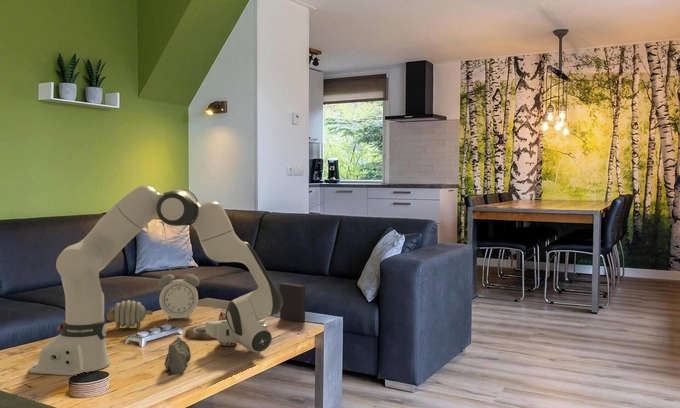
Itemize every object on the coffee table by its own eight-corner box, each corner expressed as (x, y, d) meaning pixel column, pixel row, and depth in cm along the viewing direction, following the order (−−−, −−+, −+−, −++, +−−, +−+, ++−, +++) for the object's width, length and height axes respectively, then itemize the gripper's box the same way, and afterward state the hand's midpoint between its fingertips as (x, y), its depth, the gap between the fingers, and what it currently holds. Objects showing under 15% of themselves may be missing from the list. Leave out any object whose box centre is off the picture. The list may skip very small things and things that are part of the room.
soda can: (232, 348, 204) (234, 314, 203) (214, 345, 206) (215, 312, 204) (241, 341, 211) (242, 309, 209) (223, 339, 212) (224, 307, 211)
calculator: (306, 320, 243) (306, 285, 242) (300, 323, 240) (300, 286, 239) (285, 317, 249) (285, 282, 248) (278, 319, 245) (279, 283, 245)
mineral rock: (183, 359, 191) (183, 328, 191) (208, 365, 186) (208, 334, 185) (152, 370, 180) (152, 338, 180) (177, 377, 175) (177, 343, 174)
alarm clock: (157, 322, 237) (157, 268, 236) (159, 317, 245) (159, 265, 244) (199, 320, 241) (199, 267, 240) (199, 315, 249) (199, 264, 248)
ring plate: (181, 340, 213) (181, 335, 212) (189, 328, 228) (189, 323, 228) (225, 339, 214) (225, 334, 214) (230, 328, 230) (230, 323, 230)
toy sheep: (106, 326, 229) (106, 298, 229) (152, 323, 235) (152, 296, 234) (105, 333, 219) (105, 304, 219) (153, 330, 225) (153, 301, 225)
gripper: (271, 317, 202) (255, 309, 213) (214, 323, 191) (200, 314, 203) (271, 335, 202) (255, 326, 214) (213, 342, 191) (200, 332, 203)
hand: (228, 320), depth 208 cm, fingers closed on soda can, 7 cm apart
